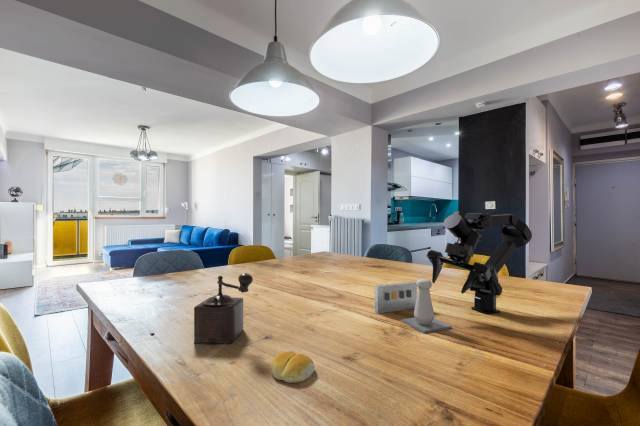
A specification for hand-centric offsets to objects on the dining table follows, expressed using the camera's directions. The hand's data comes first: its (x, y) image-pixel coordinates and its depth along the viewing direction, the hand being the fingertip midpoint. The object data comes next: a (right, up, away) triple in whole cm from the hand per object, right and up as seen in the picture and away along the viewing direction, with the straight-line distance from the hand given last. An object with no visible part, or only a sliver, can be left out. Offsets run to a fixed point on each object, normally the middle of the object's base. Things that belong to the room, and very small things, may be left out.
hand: (446, 287), depth 94 cm
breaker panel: (-13, -10, +10) cm, 20 cm away
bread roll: (-45, -11, -31) cm, 56 cm away
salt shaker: (-8, -10, -4) cm, 14 cm away
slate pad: (-8, -10, -4) cm, 13 cm away
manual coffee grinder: (-65, -11, -12) cm, 67 cm away
